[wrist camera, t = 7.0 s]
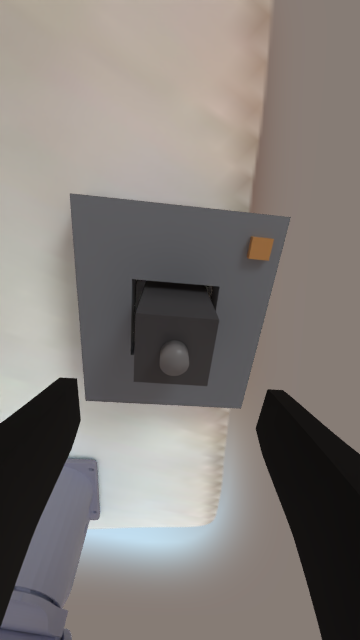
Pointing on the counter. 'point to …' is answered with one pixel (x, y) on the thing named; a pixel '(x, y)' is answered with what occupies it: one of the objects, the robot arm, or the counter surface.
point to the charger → (174, 334)
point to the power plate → (177, 267)
